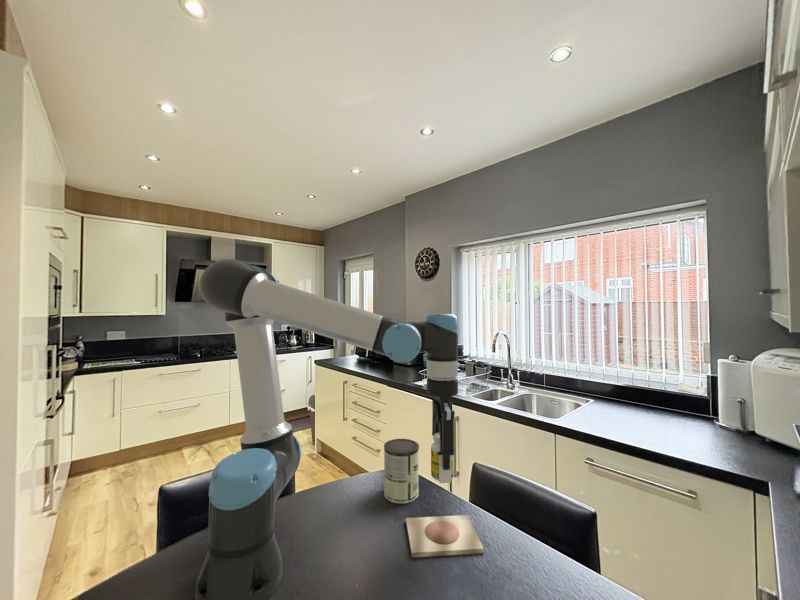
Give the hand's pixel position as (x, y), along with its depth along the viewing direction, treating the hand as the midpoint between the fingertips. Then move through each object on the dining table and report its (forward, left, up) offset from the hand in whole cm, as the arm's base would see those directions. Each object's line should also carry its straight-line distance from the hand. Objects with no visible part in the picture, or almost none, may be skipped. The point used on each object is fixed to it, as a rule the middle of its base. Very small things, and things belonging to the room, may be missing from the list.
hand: (442, 475), depth 77 cm
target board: (0, 0, -14) cm, 14 cm away
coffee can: (-8, +19, -14) cm, 25 cm away
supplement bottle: (0, 0, -1) cm, 1 cm away
